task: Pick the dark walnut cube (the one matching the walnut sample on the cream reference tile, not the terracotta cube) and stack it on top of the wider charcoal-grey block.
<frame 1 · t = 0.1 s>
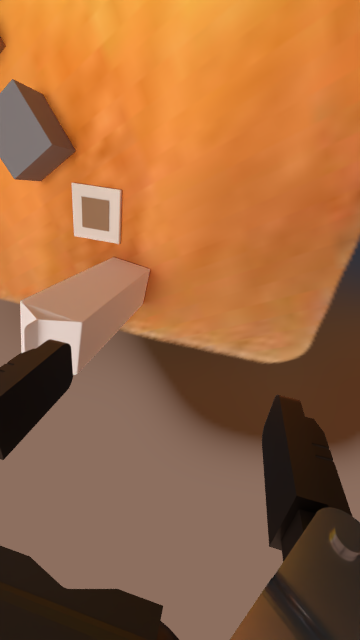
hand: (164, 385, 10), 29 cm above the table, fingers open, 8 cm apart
reference tile: (97, 213, 38), on the table
milk: (129, 280, 41), on the table
charcoal block: (42, 140, 36), on the table
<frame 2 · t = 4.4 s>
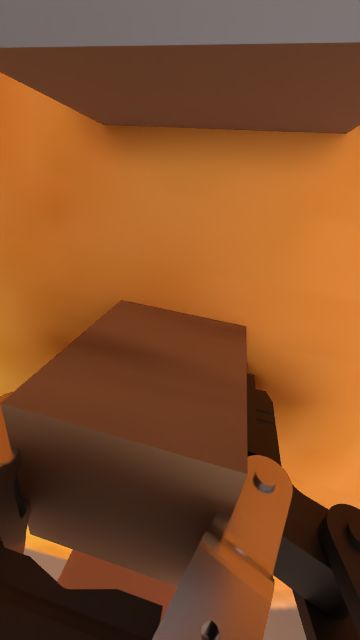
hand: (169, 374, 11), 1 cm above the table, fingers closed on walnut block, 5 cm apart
walnut block: (174, 365, 12), on the table, touching gripper
terracotta block: (153, 500, 16), on the table
when the fingers open (7 cm above the table, at t = 9.0 s): walnut block drops 1 cm, resting on charcoal block.
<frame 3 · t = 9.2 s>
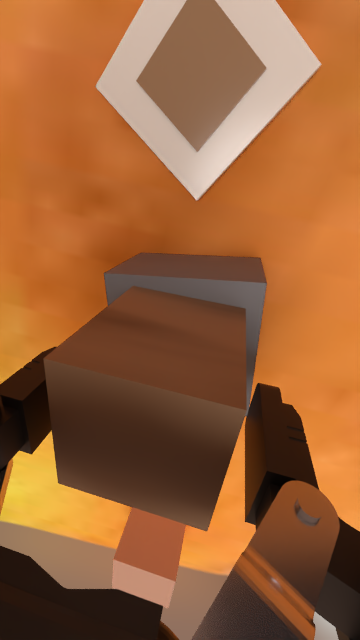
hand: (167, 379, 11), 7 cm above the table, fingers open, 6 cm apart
reference tile: (200, 81, 12), on the table
walnut block: (180, 345, 13), point 5 cm above the table, touching charcoal block
charcoal block: (197, 309, 17), on the table, touching walnut block
terracotta block: (162, 507, 27), on the table
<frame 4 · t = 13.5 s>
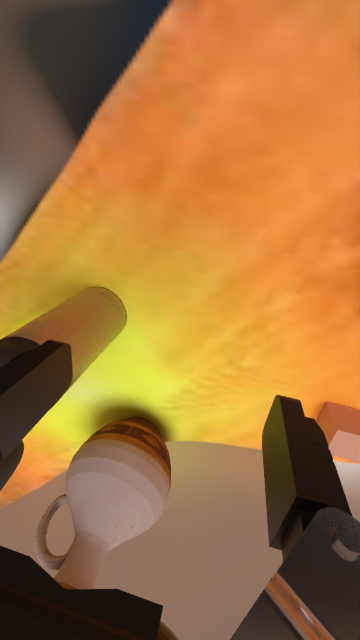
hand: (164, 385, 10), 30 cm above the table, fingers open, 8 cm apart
jug: (137, 431, 56), on the table
terracotta block: (336, 416, 44), on the table
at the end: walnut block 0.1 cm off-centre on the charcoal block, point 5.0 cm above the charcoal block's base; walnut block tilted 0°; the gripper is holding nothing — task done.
